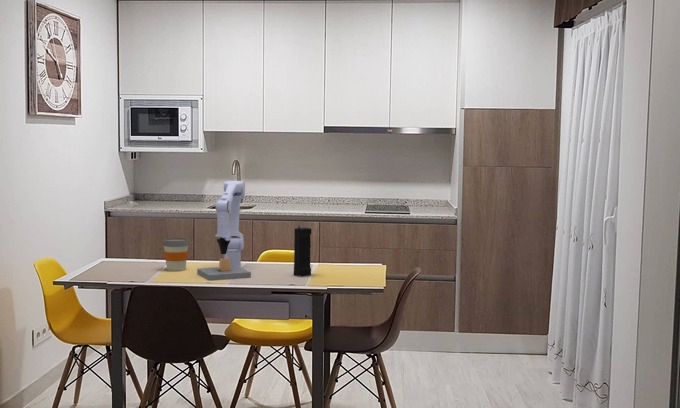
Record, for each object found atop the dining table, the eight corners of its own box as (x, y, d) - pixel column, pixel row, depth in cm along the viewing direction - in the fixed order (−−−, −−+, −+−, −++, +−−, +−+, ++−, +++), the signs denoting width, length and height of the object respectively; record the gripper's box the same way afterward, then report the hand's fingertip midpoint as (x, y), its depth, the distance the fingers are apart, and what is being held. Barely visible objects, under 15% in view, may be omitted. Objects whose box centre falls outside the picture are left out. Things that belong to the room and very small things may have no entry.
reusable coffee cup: (192, 267, 402) (191, 238, 401) (184, 272, 389) (184, 241, 388) (167, 267, 403) (167, 237, 402) (159, 271, 391) (159, 241, 389)
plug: (219, 275, 381) (219, 258, 381) (227, 274, 383) (227, 258, 382) (222, 276, 378) (222, 259, 377) (230, 275, 380) (230, 259, 379)
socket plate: (197, 273, 385) (197, 268, 384) (236, 270, 394) (236, 265, 393) (209, 280, 367) (209, 275, 367) (250, 277, 376) (250, 272, 376)
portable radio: (305, 273, 388) (305, 222, 386) (313, 274, 384) (313, 223, 381) (292, 275, 383) (292, 223, 381) (300, 276, 378) (300, 224, 376)
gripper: (210, 224, 383) (210, 252, 384) (220, 227, 370) (220, 256, 371) (224, 223, 386) (225, 251, 387) (234, 226, 373) (234, 255, 374)
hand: (223, 253), depth 379 cm, fingers closed
